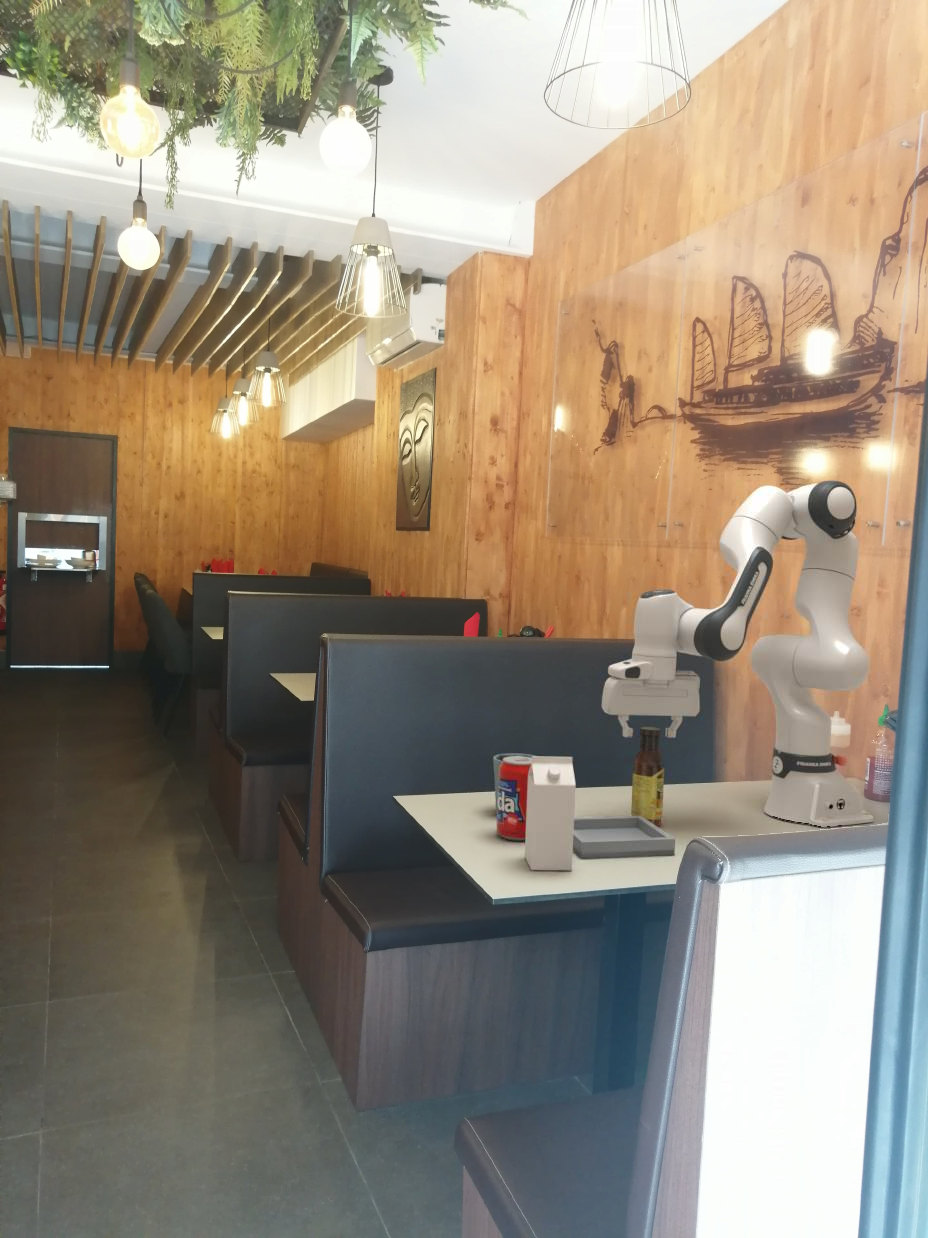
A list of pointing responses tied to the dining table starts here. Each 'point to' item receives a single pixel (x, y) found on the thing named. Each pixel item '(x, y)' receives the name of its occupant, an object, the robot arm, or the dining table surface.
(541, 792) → the milk carton
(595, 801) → the dining table surface
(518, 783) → the soda can
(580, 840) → the tray
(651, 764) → the sauce bottle
